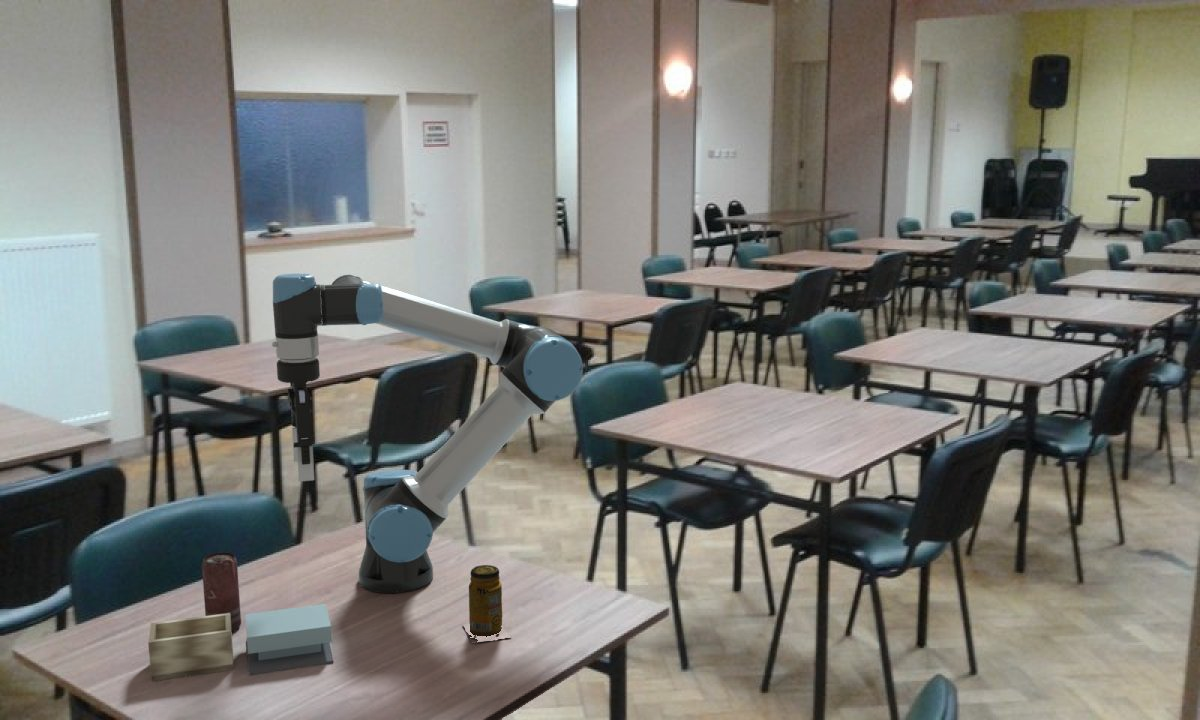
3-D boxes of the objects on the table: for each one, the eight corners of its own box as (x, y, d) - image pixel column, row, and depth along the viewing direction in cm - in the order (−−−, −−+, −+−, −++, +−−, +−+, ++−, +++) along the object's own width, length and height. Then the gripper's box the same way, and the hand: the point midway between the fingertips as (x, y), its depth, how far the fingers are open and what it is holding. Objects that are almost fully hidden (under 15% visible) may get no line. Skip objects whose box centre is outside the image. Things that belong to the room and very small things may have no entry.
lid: (327, 631, 199) (325, 603, 198) (332, 655, 190) (330, 626, 189) (247, 643, 195) (245, 614, 194) (248, 667, 186) (246, 637, 185)
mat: (326, 629, 201) (326, 627, 201) (333, 662, 188) (333, 660, 188) (247, 640, 197) (246, 638, 197) (249, 675, 184) (248, 672, 184)
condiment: (499, 620, 205) (498, 560, 203) (511, 639, 198) (510, 576, 195) (461, 626, 203) (460, 565, 201) (472, 645, 195) (470, 582, 193)
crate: (232, 649, 193) (230, 612, 192) (233, 669, 186) (230, 631, 184) (154, 660, 189) (151, 623, 188) (151, 681, 182) (148, 642, 180)
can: (231, 636, 198) (226, 564, 196) (200, 633, 200) (194, 561, 197) (248, 623, 204) (244, 552, 202) (218, 620, 205) (213, 550, 203)
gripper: (273, 348, 209) (279, 454, 213) (280, 372, 186) (286, 491, 190) (313, 346, 211) (318, 451, 215) (324, 370, 188) (330, 487, 192)
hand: (303, 470), depth 203 cm, fingers open, 13 cm apart
